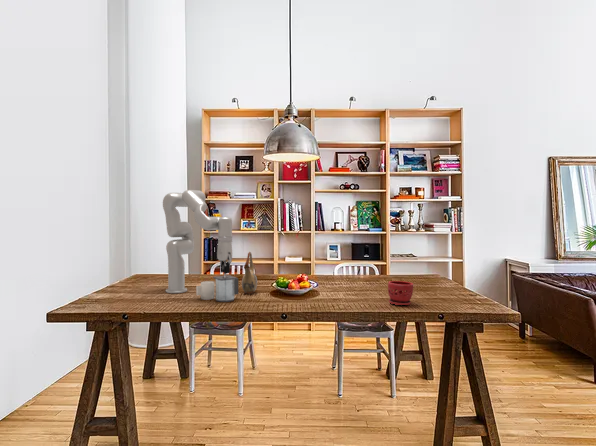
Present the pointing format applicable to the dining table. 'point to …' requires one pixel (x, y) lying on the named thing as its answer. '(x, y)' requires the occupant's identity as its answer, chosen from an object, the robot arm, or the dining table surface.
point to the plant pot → (400, 292)
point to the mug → (206, 290)
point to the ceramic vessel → (249, 276)
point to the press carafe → (226, 288)
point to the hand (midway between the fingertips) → (225, 272)
